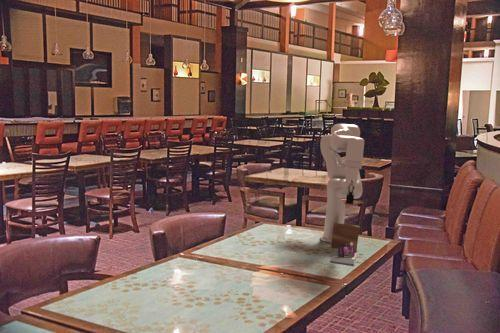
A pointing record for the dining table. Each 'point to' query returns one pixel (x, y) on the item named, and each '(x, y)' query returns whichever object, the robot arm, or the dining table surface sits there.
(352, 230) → the screen
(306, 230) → the dining table surface
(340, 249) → the pink radish toy
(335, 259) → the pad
